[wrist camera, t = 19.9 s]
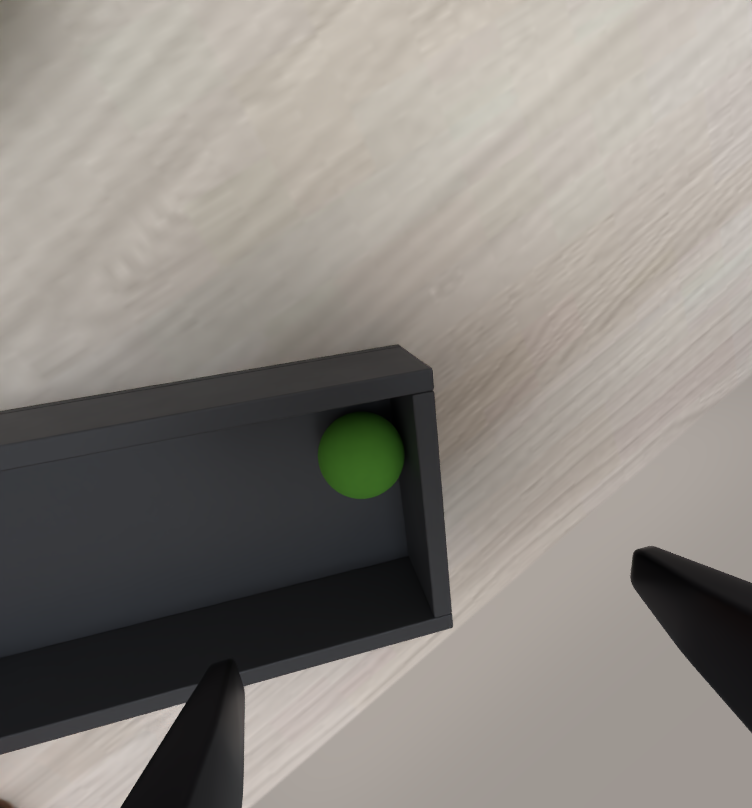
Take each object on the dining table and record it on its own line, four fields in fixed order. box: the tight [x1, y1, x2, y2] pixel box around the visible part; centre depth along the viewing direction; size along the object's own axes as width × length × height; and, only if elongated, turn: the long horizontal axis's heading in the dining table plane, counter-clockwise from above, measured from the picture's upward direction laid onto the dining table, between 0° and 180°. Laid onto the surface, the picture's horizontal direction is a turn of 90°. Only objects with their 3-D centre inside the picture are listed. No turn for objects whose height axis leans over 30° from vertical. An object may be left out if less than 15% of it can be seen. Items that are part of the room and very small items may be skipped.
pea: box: [318, 412, 405, 499], centre depth 16 cm, size 4×4×4 cm
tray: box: [0, 345, 453, 755], centre depth 16 cm, size 12×26×4 cm, turn 97°
